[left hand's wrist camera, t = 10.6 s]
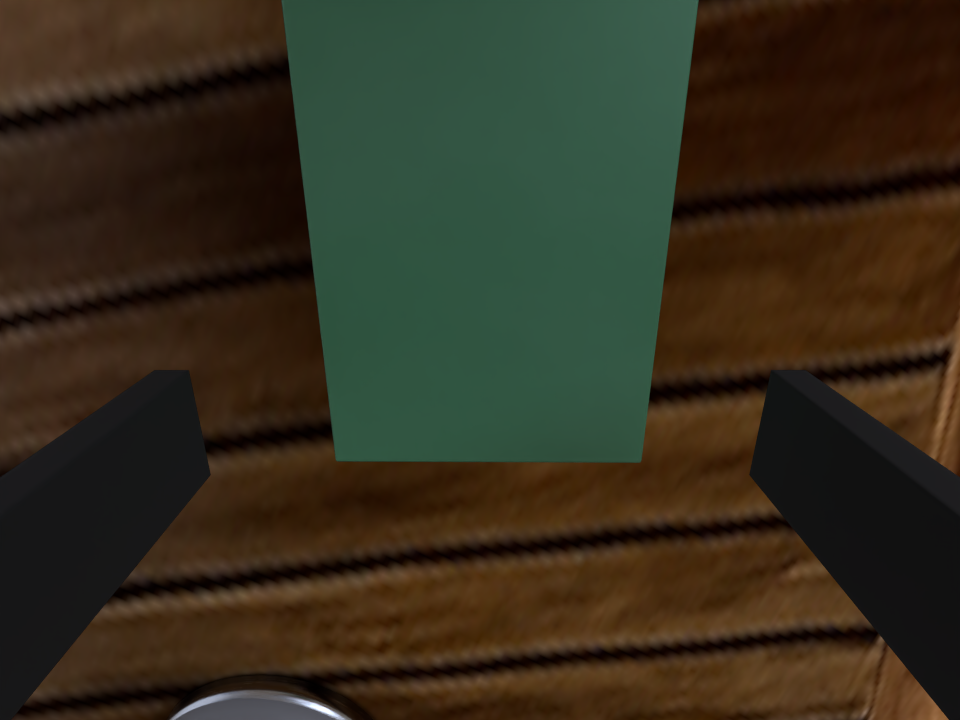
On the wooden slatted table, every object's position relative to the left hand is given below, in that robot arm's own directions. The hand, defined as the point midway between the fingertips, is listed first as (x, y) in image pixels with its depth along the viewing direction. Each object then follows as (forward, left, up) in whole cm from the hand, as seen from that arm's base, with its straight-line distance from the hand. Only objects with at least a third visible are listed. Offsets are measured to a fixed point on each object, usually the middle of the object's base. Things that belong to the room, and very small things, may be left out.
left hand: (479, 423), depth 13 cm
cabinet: (+1, +3, -13) cm, 14 cm away
